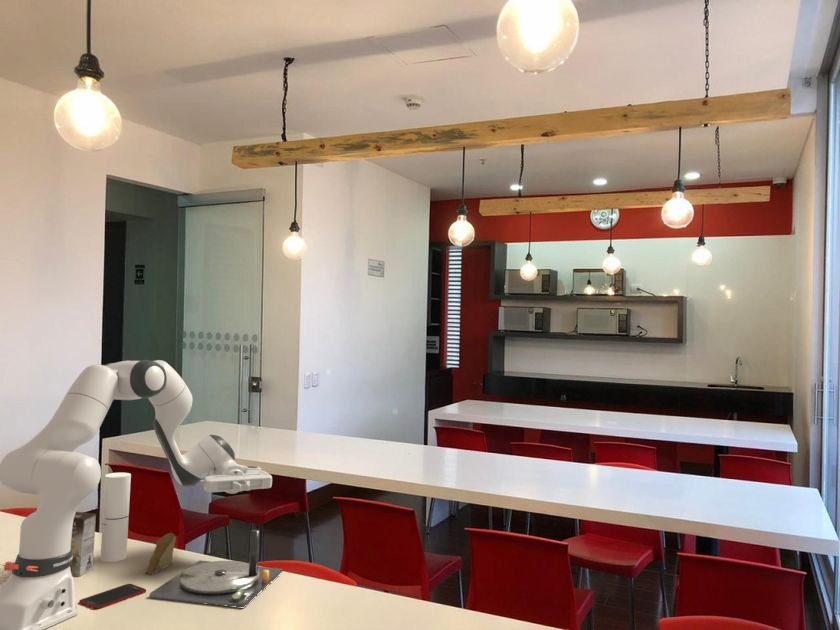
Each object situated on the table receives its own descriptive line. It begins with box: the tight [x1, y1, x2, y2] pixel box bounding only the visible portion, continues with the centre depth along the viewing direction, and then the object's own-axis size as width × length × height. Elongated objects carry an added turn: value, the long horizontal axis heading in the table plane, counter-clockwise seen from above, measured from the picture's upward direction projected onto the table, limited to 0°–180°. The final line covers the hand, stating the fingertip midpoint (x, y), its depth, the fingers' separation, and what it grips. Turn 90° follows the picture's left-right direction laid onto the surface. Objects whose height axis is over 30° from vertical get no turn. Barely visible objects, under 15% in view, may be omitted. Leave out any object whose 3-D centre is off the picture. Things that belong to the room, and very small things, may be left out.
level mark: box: [262, 570, 269, 583], centre depth 181 cm, size 2×2×3 cm
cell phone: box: [78, 583, 147, 611], centre depth 170 cm, size 8×15×1 cm, turn 149°
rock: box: [145, 532, 177, 575], centre depth 192 cm, size 11×9×10 cm
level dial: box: [180, 529, 261, 594], centre depth 181 cm, size 21×21×14 cm
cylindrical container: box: [99, 472, 132, 563], centre depth 199 cm, size 7×7×25 cm
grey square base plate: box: [149, 559, 283, 607], centre depth 181 cm, size 26×26×3 cm
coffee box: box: [70, 511, 97, 577], centre depth 187 cm, size 9×6×16 cm
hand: (244, 488), depth 194 cm, fingers closed
